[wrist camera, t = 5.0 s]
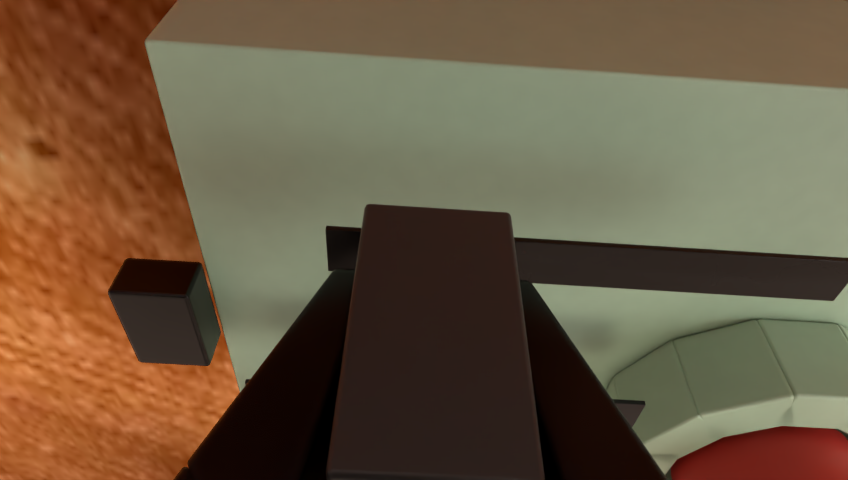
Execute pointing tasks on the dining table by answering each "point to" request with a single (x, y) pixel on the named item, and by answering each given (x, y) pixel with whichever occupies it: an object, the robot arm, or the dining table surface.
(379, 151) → the button and slider box
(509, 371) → the block
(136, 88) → the dining table surface
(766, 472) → the button
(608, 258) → the toaster trim
